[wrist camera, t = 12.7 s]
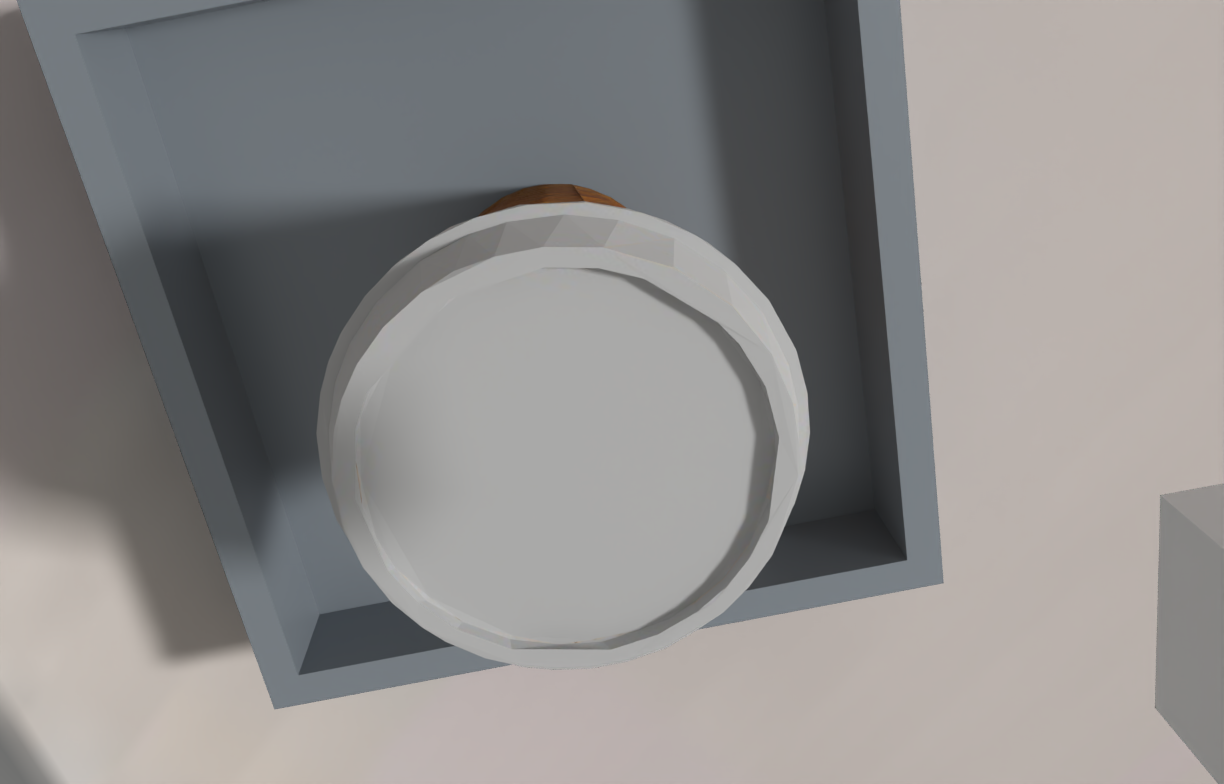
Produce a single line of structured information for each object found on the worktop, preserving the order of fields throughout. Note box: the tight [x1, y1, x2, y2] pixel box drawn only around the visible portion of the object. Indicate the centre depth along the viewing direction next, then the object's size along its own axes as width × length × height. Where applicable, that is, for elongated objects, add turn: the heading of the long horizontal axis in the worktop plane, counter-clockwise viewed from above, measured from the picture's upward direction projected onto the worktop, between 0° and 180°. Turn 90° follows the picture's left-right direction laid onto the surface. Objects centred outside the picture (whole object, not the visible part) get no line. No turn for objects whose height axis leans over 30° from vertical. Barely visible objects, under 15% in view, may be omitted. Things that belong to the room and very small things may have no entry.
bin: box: [17, 0, 943, 709], centre depth 30 cm, size 20×20×4 cm
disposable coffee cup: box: [316, 184, 810, 670], centre depth 25 cm, size 10×10×12 cm
